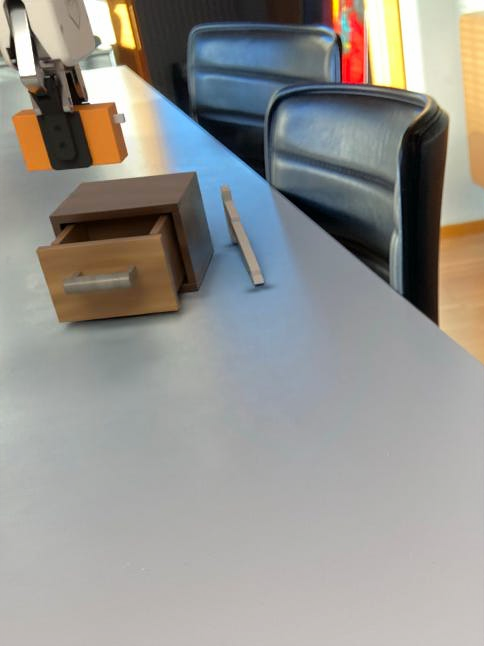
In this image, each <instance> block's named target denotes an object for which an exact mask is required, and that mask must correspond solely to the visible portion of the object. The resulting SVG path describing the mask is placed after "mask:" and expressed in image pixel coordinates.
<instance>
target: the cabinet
mask: <svg viewBox="0 0 484 646" xmlns="http://www.w3.org/2000/svg"><path fill="white" fill-rule="evenodd" d="M170 212H172V216H173V220H174V225H175V229H176V233H177V237H178V241H179V245H180V249H181V253H182V257H183V262H184V266H185V270H186V274H185V276H184V279H183V281H182V283H181V285H180V287H179V290H178V292H177V294H178V293H189V292H196V291H199V290H200V287H201V284H202V282H203V279H204V276H205V275H206V272H207V270H208V268H209V267H208V266H209V264H210V261H211V259H212V257H213V254H214V252H215V251H214V245H213V240H212V236H211V232H210V231H211V230H210V227H209V223H208V218H207V214H206V209H205V203H204V200H203V195H202V191H201V188H200V183H199V178H198V173H197V171H196V170H193V171H186V172H185V171H184V172H175V173H173V172H172V173H167V174H166V173H164V174H155V175H146V176H136V177H135V176H134V177H126V178H116V179H107V180H105V179H104V180H96V181H87V182H80V184H79V185H78V186H76V188H74V190H72V192H71V193H70V194H69V195H68V196H67V197H66V198H65V199H64V200H63V201H62V202H61V203H60V204H59V206H58V207H57V208H55V210H54V211H53V212H52V213H51V214H49V216H48V218H49V221H50V224H51V227H52V230H53V234H54V236H55V239H56V238H57V236H58V235H59V234H60V233H61V232H62V231H63V230H64V228H65V227H66V226H67V225H68V224H69V223H73V222H83V221H93V220H102V219H112V218H122V217H131V216H141V215H150V214H160V213H170Z"/></svg>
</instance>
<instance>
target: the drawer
mask: <svg viewBox="0 0 484 646" xmlns="http://www.w3.org/2000/svg"><path fill="white" fill-rule="evenodd" d="M35 252H36V256H37V259H38V261H39V265H40V267H41V270H42V274H43V277H44V280H45V283H46V286H47V290H48V292H49V295H50V298H51V302H52V304H53V308H54V311H55V314H56V317H57V319H58V322H59V323H72V322H80V321H89V320H91V321H92V320H100V319H109V318H117V317H128V316H134V315H135V316H137V315H146V314H155V313H164V312H175V311H179V309H180V308H181V304H180V300H179V296H178V293H177V292H178V290H179V287H180V285H181V283H182V281H183V279H184V276H185V274H186V270H185V266H184V262H183V257H182V253H181V249H180V245H179V241H178V237H177V233H176V229H175V225H174V220H173V216H172V212H170V213H160V214H150V215H141V216H131V217H122V218H112V219H102V220H93V221H83V222H73V223H69V224H68V225H67V226H66V227H65V228H64V230H63V231H62V232H61V233H60V234H59V235H58V236H57V238H56V237H55V238H54V239H53V241H52V242H51V243H50V245H42V246H38V247H37V248H36V250H35Z"/></svg>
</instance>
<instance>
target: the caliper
mask: <svg viewBox="0 0 484 646" xmlns="http://www.w3.org/2000/svg"><path fill="white" fill-rule="evenodd" d="M219 188H220V193H221V194H220V196H221V201H222V206H223V212H224V216H225V221H226V226H227V231H228V235H229V238H230V239H231V244H232V245H234V244H237V245H238V248H239V251H240V254H241V256H242V258H243V262H244V263H245V266H246V268H247V270H248V274H249V276H250V279H251V282H252V283H253V285H261V284H265V280H264V277H263V275H262V270H261V267H260V265H259V262H258V260H257V258H256V255H255V252H254V251H253V248H252V245H251V243H250V240H249V238H248V235H247V233H246V231H245V228H244V226H243V224H242V221H241V217H240V214H239V212H238V209H237V207H236V204H235V202H234V200H233V196H232V190H231V189H230V185H229V184H226V185H219Z"/></svg>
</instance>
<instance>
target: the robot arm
mask: <svg viewBox="0 0 484 646" xmlns="http://www.w3.org/2000/svg"><path fill="white" fill-rule="evenodd" d="M87 11H88V10H87V8H86V5H85V1H84V0H0V53H1V55H2V57H3V61H4V62H5V63H6V65H8V67H10V68H11V69H13V70H15V71H17V72H18V74H19V79H20V82H21V84H22V85H23V86H24V87H25V88H26V89H27V93H28V95H29V97H30V102H31V105H32V106H31V107H32V109H33V110H34V112H35V114H36V117H37V121H38V124H39V127H40V131H41V134H42V138H43V141H44V144H45V148H46V151H47V154H48V158H49V161H50V165H51V167H52V168H53V169H52V170H53V171H67V170H77V169H79V170H80V169H87V168H90V167H92V166H91V165H92V163H93V161H92V157H91V153H90V150H89V146H88V142H87V139H86V135H85V131H84V128H83V124H82V120H81V117H80V113H79V111H74V109H73V106H75V105H86V104H91V103H90V102H89V95H88V90H87V87H86V84H85V80H84V77H83V76H84V75H83V73H82V70H81V66H80V63H81V62H83V61H84V60H86V59H87V58H89V57H90V56H91V55H92V54H93V53H94V51H95V49H96V40H95V37H94V36H95V35H94V32H93V28H92V25H91V22H90V18H89V15H88V12H87Z"/></svg>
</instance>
